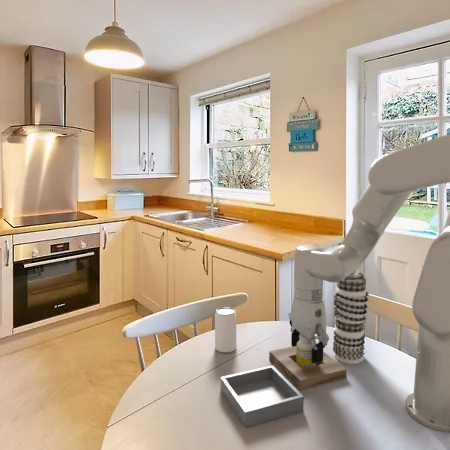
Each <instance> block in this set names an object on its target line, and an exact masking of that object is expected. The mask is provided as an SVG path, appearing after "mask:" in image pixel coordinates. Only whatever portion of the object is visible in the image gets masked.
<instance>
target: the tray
mask: <svg viewBox="0 0 450 450" xmlns="http://www.w3.org/2000/svg"><path fill="white" fill-rule="evenodd" d="M285 377H286V376H285V375H284V374H283V373H282V372H281V371H280V370H279V369H278V368H277V367H275V365H274V364H273V365H268V366H264V367H260V368H255V369H250V370H246V371H242V372H238V373H233V374H228V375H224V376H220V392H221V393H222V394H223V397H224V398H225V399H226V401H227V403H228V404H229V406H230V407H231V408H232V410H233V412H234V413H235V414H236V416H237V419H238V420H240V423H241V424H242V426H243V427H244V429H246V428H249V427H253V426H257V425H261V424H264V423H267V422H271V421H275V420H277V419H281V418H284V417H288V416H291V415H295V414H296V415H297V414H299V413H302V412H304V404H305V403H304V402H305V401H304V400H305V396H304V395H303V394H302V393H301V392H300V391H299V389H298V388H296V387H295V386H294V385H293V383H291V382H290V380H288V379H287V377H286V378H285Z"/></svg>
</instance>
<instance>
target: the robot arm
mask: <svg viewBox="0 0 450 450" xmlns="http://www.w3.org/2000/svg"><path fill="white" fill-rule="evenodd" d="M367 178H368V184H367V186H366V188H365V189H364V190H363V192H362V194H361V195H360V196H359V198H358V199H357V201H356V203H355V204H354V206H353V208H352V210H351V211H352V213H351V214H352V224H351V227H350V228H349V231H348V232H347V234H346V235H345V237H344V239H343V240H342V241H341V242H340V244H339V245H338V246H337V247H336V248H333V249H331V250H326V251H324V249H323V248H322V247H320V246H318V245H312V244H311V245H309V244H307V245H300V246H297V247H296V248H295V250H294V253H293V255H294V256H293V257H294V259H293V260H294V261H293V298H292V307H291V312H288V319H289V320H288V321H289V325H290V332H291V339H290V342H291V343H290V344H291V345H290V347H292V346H293V347H295V346H297V342H298V341H299V340H300V339H299V335H300V333H301V334H303V335H304V336H306V337H307V338H308V339H311V342H312V345H313V348H312V358H311V362H312V363H313V364H314V363H318V362H322V361H323V352H324V349H325V348H326V346H327V345H328V342H329V340H330V336H329V335H328V334H327V316H326V315H327V314H326V307H325V301H324V300H323V297H324V296H323V295H324V293H323V292H324V281H326V282H327V283H335V284H336V283H337V282H340V281H342V280H343V279H345V278H347V277H348V276H349V275H351V274H352V273H354V272H355V271H358V269H360V268H361V267H362V265H363V264H364V263H365V261H366V259H367V258H368V257H369V256H370V254H371V253H372V252H373V250H374V249H375V247H376V245H377V244H378V242H379V240H380V239H381V237H382V235H383V234H384V233H385V231H386V229H387V227H388V226H389V225H390V223H391V222H392V220H393V219H394V218H395V216H396V215H397V213H398V212H399V210H400V209H401V207H402V206H403V205H404V204H405V202H406V201H407V199H408V198H409V197H410V195H411V194H412V192H414V191H417V190H422V189H426V188H431V187H434V186H438V185H442V184H446V183H450V133H449V134H445V135H442V136H438V137H435V138H432V139H430V140H425V141H424V142H421V143H417V144H413V145H412V146H408V147H404V148H402V149H398V150H395V151H390V152H388V153H386V154H383V155H381V156H379V157H378V158H376V159H375V160H374V162H372V164H371V166H370V167H369V170H368V177H367ZM411 307H412V308H411V309H412V313H413V315H414V318H415V320H416V322H417V323H418V331H417V344H416V356H415V357H416V358H415V370H414V371H415V372H414V382H413V383H414V384H413V392H412V393H410V394H409V395H407V397H406V398H405V400H404V406H405V407H404V408H405V409H406V411H407V413H408V414H409V415H410V416H411V417H412V418H413V420H415V421H418V422H419V423H420V424H422V425H423V426H426V427H429V428H431V429H434V430H436V431H442V432H445V433H446V432H448V433H450V210H449V212H448V214H447V218H446V219H445V223H444V226H443V229H442V231H441V233H440V234H439V235H438V236H437V237H436V238H435V239H434V241H433V242H432V243H431V244H430V246H429V249H428V251H427V253H426V257H425V260H424V262H423V266H422V270H421V273H420V275H419V280H418V282H417V286H416V289H415V292H414V296H413V299H412V305H411ZM313 336H314V337H313ZM316 340H318V342H317V341H316Z"/></svg>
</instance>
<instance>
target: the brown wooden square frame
mask: <svg viewBox="0 0 450 450" xmlns="http://www.w3.org/2000/svg"><path fill="white" fill-rule="evenodd" d="M268 352H269V354H268V355H269V357H268V358H269V361H270V362H271V363H272V364H273V366H274V367H275V366H276V367H275V368H276V369H277V370H278V371H279V372H281V373H282V374H283V375H284V376H285V377H286V378H288V379H289V381H291V382H292V384H294V385H295V386H296V387H297V389H298V390H300V391H302V390H305V389H309V388H313V387H318V386H321V385H324V384H328V383H332V382H336V381H340V380H344V379H348V377H347V376H348V375H347V373H348V369H347V367H345V366H344V365H342V364H341V363H339V361H338V360H337V359H334V357H331V355H329V354H327V353H326V352H325V351H323V361H322V362H318V363H316V366H312V367H307V368H303V369H302V368H301V367H300V366H299V365H298V364H297V363H296V352H297V346H295V347H293V346H287V347H283V348H279V349H273V350H269V351H268Z"/></svg>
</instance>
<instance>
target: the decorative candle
mask: <svg viewBox="0 0 450 450" xmlns="http://www.w3.org/2000/svg"><path fill="white" fill-rule="evenodd" d="M367 280H368V278H367V277H366V276H364V274H363V273H362V272H361V271H358V270H357V271H355V272H354V273H352V274H351V275H349V276H348V277H347V278H345V279H343V280H342V281H340V282H336V283H337V285H336V293H335V295H333V298H334V300H333V305H334V307H333V309H334V313H333V315H334V318H335V325H334V331H333V335H334V336H333V343H332V345H333V347H332V351H333V352H332V354H333V358H335V360H336V361H338V362H343V363H345V364H359V363H362V362H363V361H364V358H365V357H364V355H365V352H364V351H365V341H366V340H365V339H366V335H365V329H364V327H365V325H364V323H365V322H366V319H367V317H366V316H365V315H366V314H367V313H368V311H367V308H368V304H366V303H367V302H369V299H368V296H369V292H368V291H367V289H366V286H367Z"/></svg>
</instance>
